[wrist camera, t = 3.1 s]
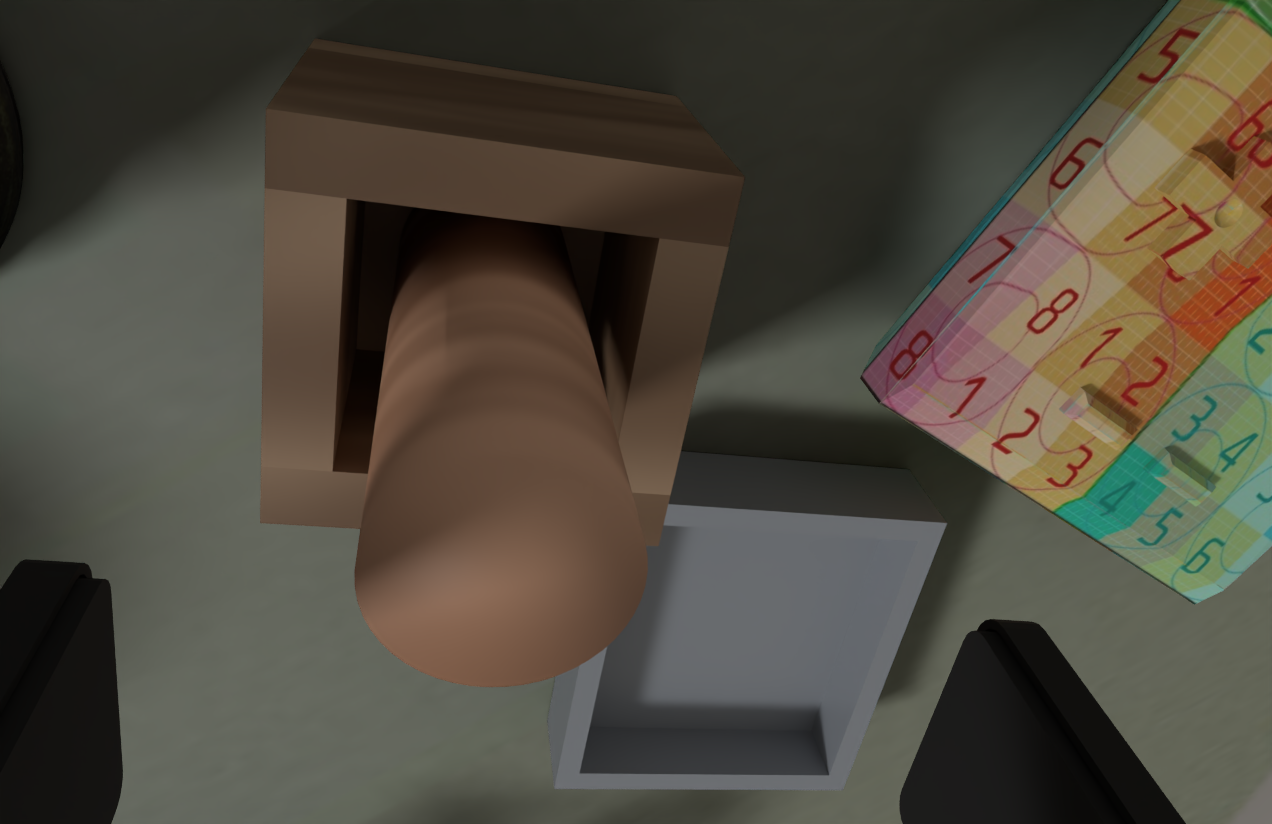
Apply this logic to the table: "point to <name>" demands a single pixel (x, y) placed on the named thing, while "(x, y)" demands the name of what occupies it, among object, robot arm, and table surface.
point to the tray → (752, 631)
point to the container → (9, 156)
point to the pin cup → (487, 186)
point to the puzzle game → (1123, 311)
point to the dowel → (494, 464)
